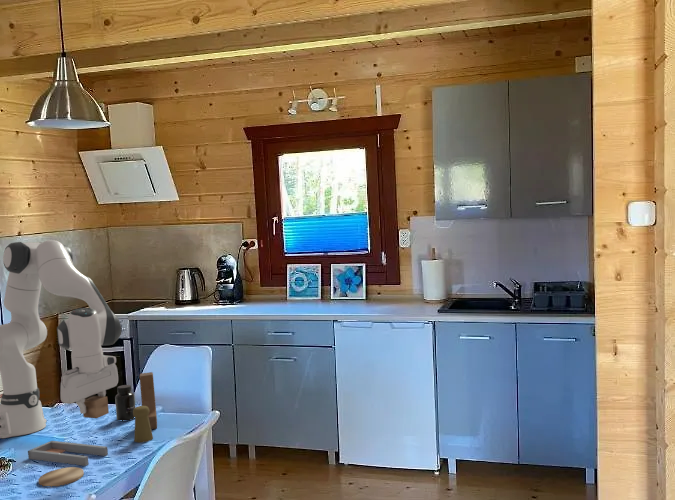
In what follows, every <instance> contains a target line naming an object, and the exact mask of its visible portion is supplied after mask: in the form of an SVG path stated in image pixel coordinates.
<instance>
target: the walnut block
mask: <svg viewBox="0 0 675 500" xmlns="http://www.w3.org/2000/svg"><path fill="white" fill-rule="evenodd" d="M84 404H85V406H88V412H87V413H85V414H82V416H83V418H89V419H99V418H101V417H103V416H106V415H108V414H109V413H110V412H109V401H108V396H106V395H105V396H98V395H92V396H89V397H87V398H85V402H84Z"/></svg>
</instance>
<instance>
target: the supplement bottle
mask: <svg viewBox="0 0 675 500" xmlns="http://www.w3.org/2000/svg"><path fill="white" fill-rule="evenodd" d="M116 387H117V389H116V390H117V394H116V395H115V396H114V399H115V413H116V414H115V415H116V420H117V421H118V420H122V421H121V422H124V421H123V420H129V421H131V420H130V419H132V420H134V419H135V418H134V415H133V410H134V408H136V398H135V393H133V392H132V386H131V385H129V384H123V385H119V386H116ZM133 418H134V419H133Z"/></svg>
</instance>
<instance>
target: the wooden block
mask: <svg viewBox="0 0 675 500" xmlns="http://www.w3.org/2000/svg"><path fill="white" fill-rule="evenodd" d="M139 387H140V398H141V406H147V407H148V408H149V415H148V418H149V422H150V427H151V430H157V429H158V417H157V404H156V396H155V395H156V394H155V393H156V392H155V383H154V372H153V371H151V372H142V373H140V374H139Z"/></svg>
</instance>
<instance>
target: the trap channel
mask: <svg viewBox="0 0 675 500" xmlns="http://www.w3.org/2000/svg"><path fill="white" fill-rule="evenodd" d="M108 449H109V448H108V446H104V445H96V444H87V443H86V444H85V443H77V442H67V441H60V440H59V441H56V440H50V441H48V442H45V443H43V444H40V445H39V446H38V445H37V446H36V447H34V448H32V449H29V450H27V456H28V459H29V460H33V461H35V460H36V461H42V460H43V461H45V462H50V461H51V462H53V463H61V464H67V463H68V464H69V465H75V464H76V465H75V466H83V467H86V466H88V465H89V464H90V463H89V456H88V455H95V456H103V457H104V456H105V457H106V456H108V455H109V452H108V451H109V450H108ZM65 452H70V453H71V454H70V453H65ZM72 453H75V454H72ZM76 453H77V454H76ZM78 454H84V455H78ZM86 454H87V455H86ZM43 461H42V462H43ZM51 462H50V463H51Z"/></svg>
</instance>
